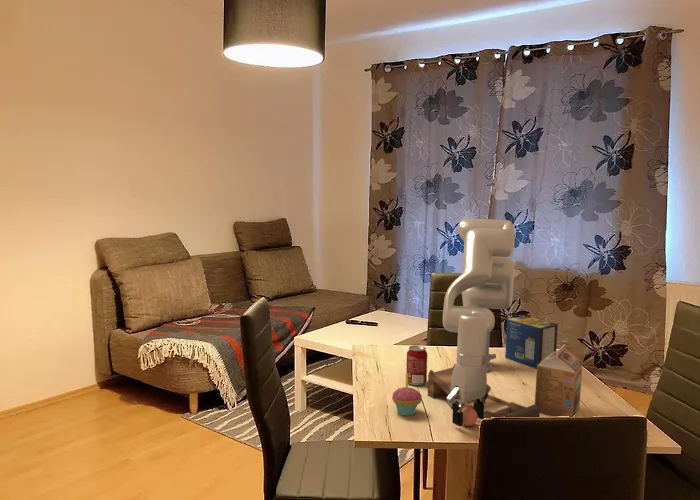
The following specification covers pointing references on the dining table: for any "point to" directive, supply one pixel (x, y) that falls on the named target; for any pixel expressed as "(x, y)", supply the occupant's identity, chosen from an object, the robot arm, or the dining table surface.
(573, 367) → the milk carton
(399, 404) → the cupcake
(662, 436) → the dining table surface
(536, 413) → the lane
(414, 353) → the soda can
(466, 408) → the ball
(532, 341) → the protein box
